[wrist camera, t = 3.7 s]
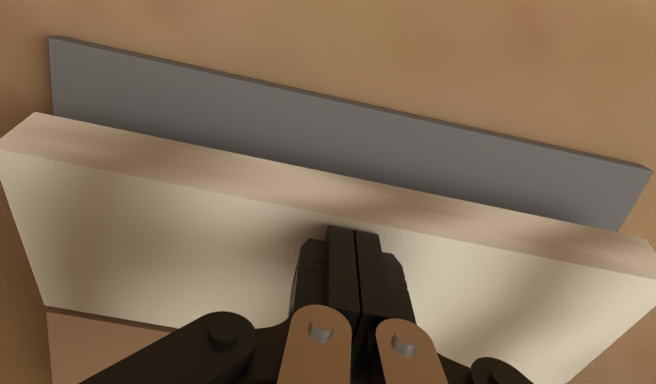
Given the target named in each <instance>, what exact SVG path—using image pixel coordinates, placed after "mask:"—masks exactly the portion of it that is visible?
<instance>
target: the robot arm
mask: <svg viewBox="0 0 656 384" xmlns="http://www.w3.org/2000/svg"><path fill="white" fill-rule="evenodd" d="M407 288H408V287H407V283H406V280H405V275H404V271H403V267H402V265H401V264H400V262H399V261H398V260H397V258H396V257H395V256H394V255H393V254H391V253H386V252H382V250H381V244H380V239H379V235H378V234H374V233H369V232H364V231H359V230H354V231H353V229H348V228H343V227H338V226H332V225H329V226H328V229H327V232H326V236H325V239H324V241H322V240H317V239H311V238H309V239H308V240H307V241H306V242H305V243H304V244H303V245H302V246H301V248H300V252H299V257H298V261H297V265H296V270H295V274H294V279H293V283H292V287H291V295H290V303H289V310H288V318H287V319H286V320H285V321H283V322H282V323H280V324H278V325H275V326H272V327H267V328H257V329H255V328H254V326H253V325H252V323H251V322H250V321H249V320H248V319H246V318H245V317H243V316H241V315H239V314H236V313H233V312H227V311H217V312H212V313H208V314H206V315H203V316H201V317H199V318H198V319H196V320H194V321H192V322H190V323H188V324H187V325H185V326H183V327H181V328H179V329H177V330H176V331H174V332H172V333H170V334H168V335H166V336H165V337H163V338H161V339H159V340H157V341H155V342H154V343H152V344H150V345H148V346H146V347H144V348H142V349H141V350H139V351H137V352H135V353H133V354H131V355H130V356H128V357H126V358H124V359H122V360H120V361H119V362H117V363H115V364H113V365H111V366H109V367H108V368H106V369H104V370H102V371H100V372H98V373H97V374H95V375H93V376H91V377H89V378H87V379H86V380H84V381H82V382H80V383H78V384H534V383H533V382H531V381H530V380H529V379H528V378H527V377H525V376H524V375H523V374H522V373H521V372H519V371H518V370H517V369H516V368H514V367H513V366H511V365H510V364H508V363H506V362H504V361H502V360H499V359H496V358H492V357H481V358H478V359H476V360H475V361H474V362H473V363H472V365H471V367H470V368H469V367H467V366H464V365H462V364H460V363H458V362H455V361H453V360H451V359H448V358H446V357H444V356H442V355H441V354H439V353H437V352H436V349H435V346H434V344H433V341H432V339H431V338H430V336H429V335H428V334H427V333H426V332H425V331H424V330H423V329H422V328H420V327H419V326H417V324H416V320H415V316H414V311H413V307H412V303H411V299H410V295H409V291H408V290H407Z"/></svg>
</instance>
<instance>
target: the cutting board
mask: <svg viewBox="0 0 656 384" xmlns="http://www.w3.org/2000/svg"><path fill="white" fill-rule="evenodd" d="M48 42H49V58H50V73H51V89H52V105H53V116H58V117H63V118H68V119H72V120H77V121H82V122H87V123H92V124H97V125H101V126H106V127H111V128H116V129H121V130H126V131H130V132H135V133H140V134H145V135H150V136H155V137H159V138H164V139H169V140H174V141H179V142H184V143H188V144H193V145H198V146H203V147H208V148H213V149H217V150H222V151H227V152H232V153H237V154H242V155H246V156H251V157H256V158H261V159H266V160H271V161H275V162H280V163H285V164H290V165H295V166H300V167H304V168H309V169H314V170H319V171H324V172H329V173H333V174H338V175H343V176H348V177H353V178H358V179H362V180H367V181H372V182H377V183H382V184H387V185H391V186H396V187H401V188H406V189H411V190H415V191H420V192H425V193H430V194H435V195H440V196H444V197H449V198H454V199H459V200H464V201H469V202H473V203H478V204H483V205H488V206H493V207H498V208H502V209H507V210H512V211H517V212H522V213H527V214H531V215H536V216H541V217H546V218H551V219H556V220H560V221H565V222H570V223H575V224H580V225H585V226H589V227H594V228H599V229H604V230H609V231H614V232H618V231H619V229H620V227H621V226H622V224H623V222H624V221H625V219H626V217H627V216H628V214H629V212H630V211H631V209H632V207H633V206H634V204H635V202H636V201H637V199H638V197H639V196H640V194H641V192H642V191H643V189H644V187H645V186H646V184H647V182H648V181H649V179H650V177H651V176H652V174H653V172H654V171H652V170H650V169H648V168H647V167H645V166H643V165H639V164H635V163H630V162H626V161H621V160H617V159H612V158H608V157H603V156H598V155H594V154H589V153H585V152H580V151H576V150H571V149H567V148H562V147H558V146H553V145H549V144H544V143H540V142H535V141H531V140H526V139H522V138H517V137H513V136H508V135H504V134H499V133H495V132H490V131H486V130H481V129H477V128H472V127H468V126H463V125H459V124H454V123H450V122H445V121H441V120H436V119H432V118H427V117H423V116H418V115H414V114H409V113H405V112H400V111H396V110H391V109H387V108H382V107H378V106H373V105H369V104H364V103H360V102H355V101H351V100H346V99H342V98H337V97H333V96H328V95H324V94H319V93H315V92H310V91H306V90H301V89H297V88H292V87H288V86H283V85H279V84H274V83H270V82H265V81H261V80H256V79H252V78H247V77H243V76H238V75H234V74H229V73H225V72H220V71H216V70H211V69H207V68H202V67H198V66H193V65H189V64H184V63H180V62H175V61H171V60H166V59H162V58H157V57H153V56H148V55H144V54H139V53H135V52H130V51H126V50H121V49H117V48H112V47H108V46H103V45H99V44H94V43H90V42H85V41H81V40H76V39H72V38H67V37H62V36H55V37H49V38H48ZM46 318H47V329H48V340H49V352H50V363H51V374H52V384H78V383H80V382H82V381H84V380H86V379H87V378H89V377H91V376H93V375H95V374H97V373H98V372H100V371H102V370H104V369H106V368H108V367H109V366H111V365H113V364H115V363H117V362H119V361H120V360H122V359H124V358H126V357H128V356H130V355H131V354H133V353H135V352H137V351H139V350H141V349H142V348H144V347H146V346H148V345H150V344H152V343H154V342H155V341H157V340H159V339H161V338H163V337H165V336H166V335H168V334H170V333H172V332H174V331H176V330H177V329H179V328H173V327H168V326H162V325H156V324H150V323H144V322H138V321H133V320H127V319H121V318H115V317H109V316H103V315H98V314H92V313H86V312H80V311H74V310H68V309H63V308H57V307H50V308H49V309H48V310H47V311H46Z"/></svg>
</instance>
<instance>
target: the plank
mask: <svg viewBox="0 0 656 384" xmlns="http://www.w3.org/2000/svg"><path fill="white" fill-rule="evenodd" d="M0 181H1V183H2V186H3V189H4V192H5V195H6V198H7V200H8V203H9V206H10V209H11V212H12V215H13V217H14V220H15V223H16V226H17V229H18V232H19V234H20V237H21V240H22V243H23V246H24V249H25V252H26V254H27V257H28V260H29V263H30V266H31V269H32V271H33V274H34V277H35V280H36V283H37V286H38V288H39V291H40V294H41V297H42V300H43V303H44V305H45V306H51V307H57V308H63V309H68V310H74V311H80V312H86V313H92V314H98V315H103V316H109V317H115V318H121V319H127V320H133V321H138V322H144V323H150V324H156V325H162V326H168V327H173V328H181V327H183V326H185V325H187V324H188V323H190V322H192V321H194V320H196V319H198V318H199V317H201V316H203V315H206V314H208V313H212V312H217V311H227V312H233V313H236V314H239V315H241V316H243V317H245V318H246V319H248V320H249V321H250V322H251V323H252V325H253V326H254V328H255V329H257V328H267V327H272V326H275V325H278V324H280V323H282V322H283V321H285V320H286V319H287V318H288V310H289V303H290V295H291V287H292V283H293V279H294V274H295V270H296V265H297V261H298V257H299V252H300V248H301V246H302V245H303V244H304V243H305V242H306V241H307V240H308V239H309V238H311V239H317V240H322V241H324V239H325V236H326V232H327V229H328V226H329V225H332V226H338V227H343V228H348V229H353V231H354V230H359V231H364V232H369V233H374V234H378V235H379V239H380V244H381V250H382V252H386V253H391V254H393V255H394V256H395V257H396V258H397V260H398V261H399V262H400V264H401V265H402V267H403V271H404V275H405V280H406V283H407V287H408V288H407V290H408V291H409V295H410V299H411V303H412V307H413V311H414V316H415V320H416V324H417V326H419V327H420V328H422V329H423V330H424V331H425V332H426V333H427V334H428V335H429V336H430V338H431V339H432V341H433V344H434V346H435V349H436V352H437V353H439V354H441V355H442V356H444V357H446V358H448V359H451V360H453V361H455V362H458V363H460V364H462V365H464V366H467V367H469V368H470V367H471V365H472V363H473V362H474V361H475V360H476V359H478V358H481V357H492V358H496V359H499V360H502V361H504V362H506V363H508V364H510V365H511V366H513V367H514V368H516V369H517V370H518V371H519V372H521V373H522V374H523V375H524V376H525V377H527V378H528V379H529V380H530V381H531V382H533V383H534V384H566V383H567V382H568V381H569V380H571V379H572V378H573V377H574V376H575V375H576V374H578V373H579V372H580V371H581V370H582V369H583V368H584V367H586V366H587V365H588V364H589V363H590V362H591V361H593V360H594V359H595V358H596V357H597V356H598V355H599V354H601V353H602V352H603V351H604V350H605V349H606V348H608V347H609V346H610V345H611V344H612V343H613V342H614V341H616V340H617V339H618V338H619V337H620V336H621V335H622V334H624V333H625V332H626V331H627V330H628V329H629V328H631V327H632V326H633V325H634V324H635V323H636V322H637V321H639V320H640V319H641V318H642V317H643V316H644V315H646V314H647V313H648V312H649V311H650V310H651V309H652V308H654V307H655V306H656V252H655V251H654V249H653V248H652V247H651V245H650V244H649V243H648V241H647V240H646V239H645V238H643V237H638V236H633V235H628V234H623V233H618V232H614V231H609V230H604V229H599V228H594V227H589V226H585V225H580V224H575V223H570V222H565V221H560V220H556V219H551V218H546V217H541V216H536V215H531V214H527V213H522V212H517V211H512V210H507V209H502V208H498V207H493V206H488V205H483V204H478V203H473V202H469V201H464V200H459V199H454V198H449V197H444V196H440V195H435V194H430V193H425V192H420V191H415V190H411V189H406V188H401V187H396V186H391V185H387V184H382V183H377V182H372V181H367V180H362V179H358V178H353V177H348V176H343V175H338V174H333V173H329V172H324V171H319V170H314V169H309V168H304V167H300V166H295V165H290V164H285V163H280V162H275V161H271V160H266V159H261V158H256V157H251V156H246V155H242V154H237V153H232V152H227V151H222V150H217V149H213V148H208V147H203V146H198V145H193V144H188V143H184V142H179V141H174V140H169V139H164V138H159V137H155V136H150V135H145V134H140V133H135V132H130V131H126V130H121V129H116V128H111V127H106V126H101V125H97V124H92V123H87V122H82V121H77V120H72V119H68V118H63V117H58V116H53V115H48V114H43V113H39V112H34V113H33V114H31V115H30V116H29V117H27V118H26V119H25V120H23V121H22V122H21V123H20V124H18V125H17V126H16V127H14V128H13V129H12V130H11V131H9V132H8V133H7V134H5V135H4V136H3V137H2V138H0Z"/></svg>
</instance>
